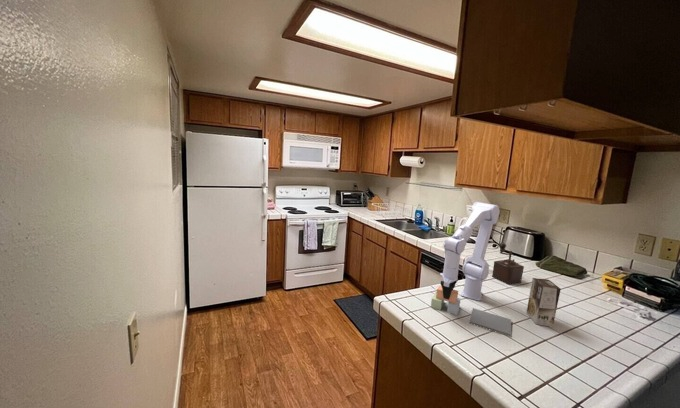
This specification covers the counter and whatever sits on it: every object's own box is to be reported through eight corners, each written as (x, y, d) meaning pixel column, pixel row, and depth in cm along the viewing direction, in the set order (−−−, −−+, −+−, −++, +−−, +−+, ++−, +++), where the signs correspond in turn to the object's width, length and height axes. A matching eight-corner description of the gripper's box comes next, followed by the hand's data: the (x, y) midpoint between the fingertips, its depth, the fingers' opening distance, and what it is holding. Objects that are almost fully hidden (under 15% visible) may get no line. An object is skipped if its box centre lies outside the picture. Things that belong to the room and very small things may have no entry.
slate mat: (472, 309, 120) (472, 307, 120) (510, 321, 113) (511, 319, 113) (469, 323, 110) (469, 321, 109) (510, 336, 103) (510, 334, 102)
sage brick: (434, 299, 127) (435, 291, 126) (443, 302, 125) (445, 294, 124) (430, 307, 120) (431, 298, 119) (440, 310, 118) (441, 301, 117)
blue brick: (449, 304, 124) (450, 295, 123) (459, 307, 122) (460, 298, 121) (446, 312, 117) (448, 303, 116) (457, 315, 115) (458, 306, 114)
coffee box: (553, 327, 110) (561, 289, 108) (535, 324, 112) (543, 286, 109) (542, 315, 119) (549, 279, 116) (525, 312, 120) (532, 277, 118)
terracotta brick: (435, 297, 120) (437, 289, 120) (437, 294, 124) (438, 285, 123) (455, 303, 116) (457, 294, 116) (457, 299, 120) (458, 290, 119)
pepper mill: (522, 282, 151) (528, 250, 148) (508, 285, 147) (514, 252, 144) (497, 271, 165) (502, 241, 162) (483, 273, 161) (488, 242, 158)
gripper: (444, 259, 126) (441, 287, 128) (437, 269, 113) (433, 300, 116) (461, 262, 122) (457, 292, 124) (456, 273, 110) (451, 305, 112)
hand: (447, 296), depth 120 cm, fingers closed on terracotta brick, 4 cm apart
